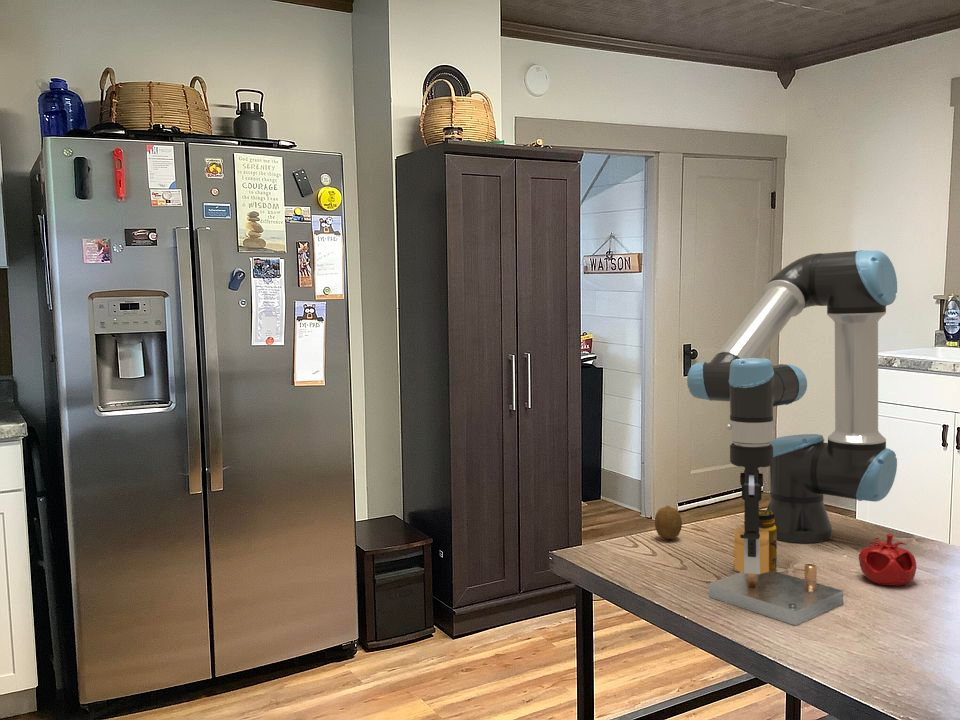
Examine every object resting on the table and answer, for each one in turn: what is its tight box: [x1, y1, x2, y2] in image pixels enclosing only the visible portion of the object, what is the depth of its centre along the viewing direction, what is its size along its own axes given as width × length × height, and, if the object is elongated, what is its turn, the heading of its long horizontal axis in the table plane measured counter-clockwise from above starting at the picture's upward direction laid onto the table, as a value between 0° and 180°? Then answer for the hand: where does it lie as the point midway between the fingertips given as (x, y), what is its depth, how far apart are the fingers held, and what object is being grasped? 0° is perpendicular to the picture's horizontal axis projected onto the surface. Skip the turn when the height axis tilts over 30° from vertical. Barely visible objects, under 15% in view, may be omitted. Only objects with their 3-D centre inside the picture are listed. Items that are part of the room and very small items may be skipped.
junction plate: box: [708, 563, 844, 626], centre depth 151 cm, size 15×18×7 cm
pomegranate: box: [858, 533, 917, 587], centre depth 159 cm, size 10×10×9 cm
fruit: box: [654, 505, 683, 541], centre depth 190 cm, size 6×6×8 cm
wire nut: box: [733, 526, 769, 574], centre depth 151 cm, size 6×6×7 cm
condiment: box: [729, 509, 786, 573], centre depth 167 cm, size 7×8×12 cm
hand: (752, 566), depth 151 cm, fingers closed on wire nut, 6 cm apart
